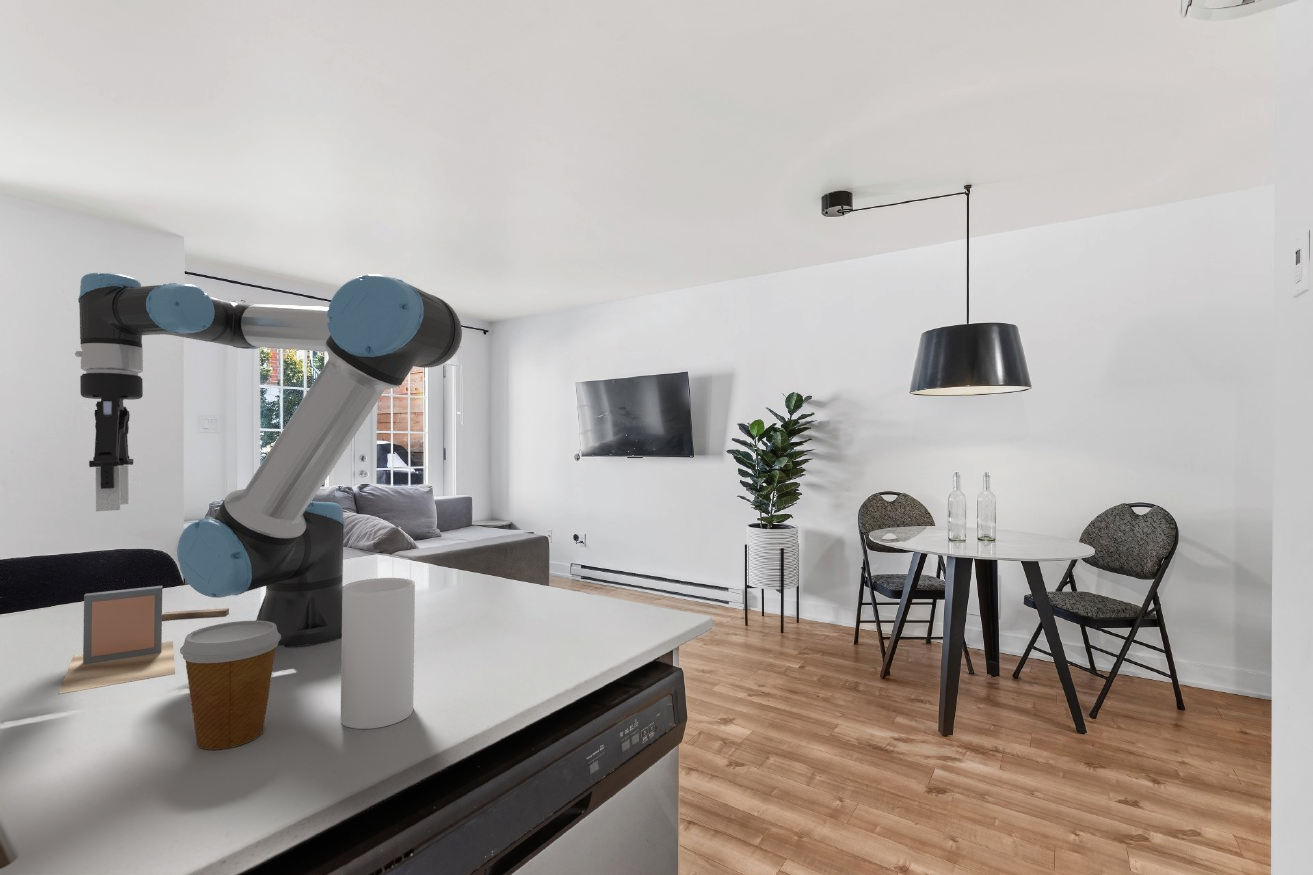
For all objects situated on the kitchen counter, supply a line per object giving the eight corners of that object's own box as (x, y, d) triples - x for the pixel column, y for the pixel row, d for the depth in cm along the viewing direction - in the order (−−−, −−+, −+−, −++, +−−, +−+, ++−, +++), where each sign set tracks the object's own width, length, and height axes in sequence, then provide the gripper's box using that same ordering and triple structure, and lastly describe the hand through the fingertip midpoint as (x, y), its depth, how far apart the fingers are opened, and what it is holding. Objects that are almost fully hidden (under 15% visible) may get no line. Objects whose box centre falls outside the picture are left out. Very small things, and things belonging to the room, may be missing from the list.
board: (73, 659, 96) (73, 655, 96) (172, 644, 103) (172, 640, 103) (58, 698, 82) (58, 693, 82) (175, 677, 89) (175, 673, 89)
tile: (84, 661, 94) (85, 593, 94) (161, 649, 99) (162, 585, 99) (82, 664, 92) (84, 596, 92) (161, 652, 98) (162, 587, 98)
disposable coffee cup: (212, 719, 76) (213, 619, 76) (294, 717, 77) (296, 618, 77) (156, 759, 67) (158, 645, 67) (251, 756, 68) (253, 643, 68)
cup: (367, 735, 73) (369, 595, 73) (326, 718, 77) (328, 586, 77) (427, 710, 80) (429, 582, 80) (386, 695, 84) (388, 574, 84)
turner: (232, 613, 122) (232, 605, 122) (221, 622, 117) (221, 613, 117) (115, 621, 117) (115, 612, 117) (98, 630, 111) (98, 621, 111)
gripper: (91, 380, 109) (92, 503, 109) (66, 363, 89) (67, 515, 88) (147, 381, 113) (148, 500, 113) (136, 366, 93) (137, 511, 93)
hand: (113, 507), depth 101 cm, fingers open, 13 cm apart
